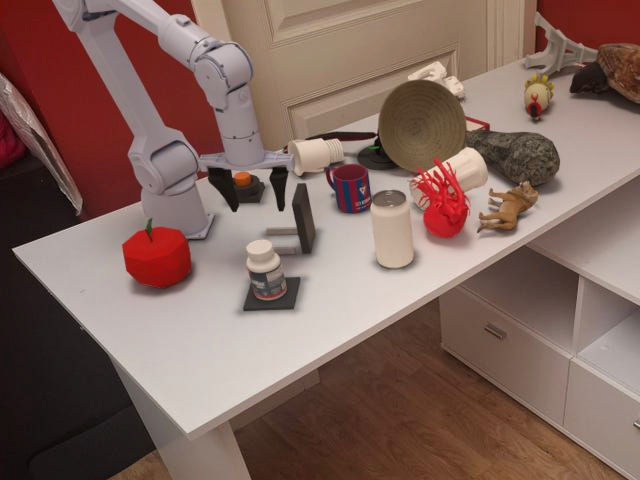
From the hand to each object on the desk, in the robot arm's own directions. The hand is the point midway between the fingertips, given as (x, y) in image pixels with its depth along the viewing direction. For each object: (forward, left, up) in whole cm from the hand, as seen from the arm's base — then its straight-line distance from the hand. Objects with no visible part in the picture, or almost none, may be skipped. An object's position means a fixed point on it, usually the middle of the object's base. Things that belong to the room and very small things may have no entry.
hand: (259, 208), depth 115 cm
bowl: (+25, +39, -6) cm, 47 cm away
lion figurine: (+38, +11, -7) cm, 40 cm away
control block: (-9, +22, -10) cm, 26 cm away
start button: (-9, +22, -7) cm, 25 cm away
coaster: (+2, -10, -10) cm, 15 cm away
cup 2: (+25, +14, -7) cm, 30 cm away
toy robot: (+18, +37, -10) cm, 42 cm away
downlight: (0, +30, -6) cm, 30 cm away
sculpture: (+68, +69, -9) cm, 98 cm away
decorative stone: (+47, +31, -5) cm, 57 cm away
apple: (-17, -4, -10) cm, 20 cm away
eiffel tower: (+55, +80, -3) cm, 97 cm away
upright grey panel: (+2, +5, -10) cm, 11 cm away
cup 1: (+12, +19, -10) cm, 24 cm away
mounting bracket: (+34, +69, -6) cm, 78 cm away
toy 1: (+7, +36, -8) cm, 37 cm away
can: (+22, -1, -10) cm, 24 cm away
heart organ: (+29, +6, -10) cm, 31 cm away
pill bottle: (+2, -10, -10) cm, 14 cm away
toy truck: (+35, +44, -7) cm, 57 cm away
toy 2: (+51, +50, -7) cm, 72 cm away
